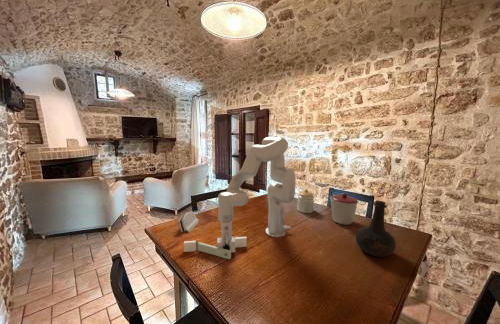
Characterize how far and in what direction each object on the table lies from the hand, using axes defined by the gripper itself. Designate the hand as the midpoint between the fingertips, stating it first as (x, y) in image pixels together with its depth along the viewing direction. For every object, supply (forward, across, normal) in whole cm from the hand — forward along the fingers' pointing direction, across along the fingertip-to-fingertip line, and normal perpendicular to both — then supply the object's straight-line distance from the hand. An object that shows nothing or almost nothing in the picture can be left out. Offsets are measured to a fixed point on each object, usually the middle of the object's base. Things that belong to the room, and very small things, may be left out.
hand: (226, 248), depth 106 cm
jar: (+2, +48, -66) cm, 82 cm away
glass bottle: (+2, -11, -78) cm, 79 cm away
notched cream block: (+2, +4, +5) cm, 7 cm away
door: (+1, -2, +7) cm, 8 cm away
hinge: (+2, +32, +23) cm, 40 cm away
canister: (+3, +25, -84) cm, 87 cm away
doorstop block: (+1, 0, 0) cm, 1 cm away
